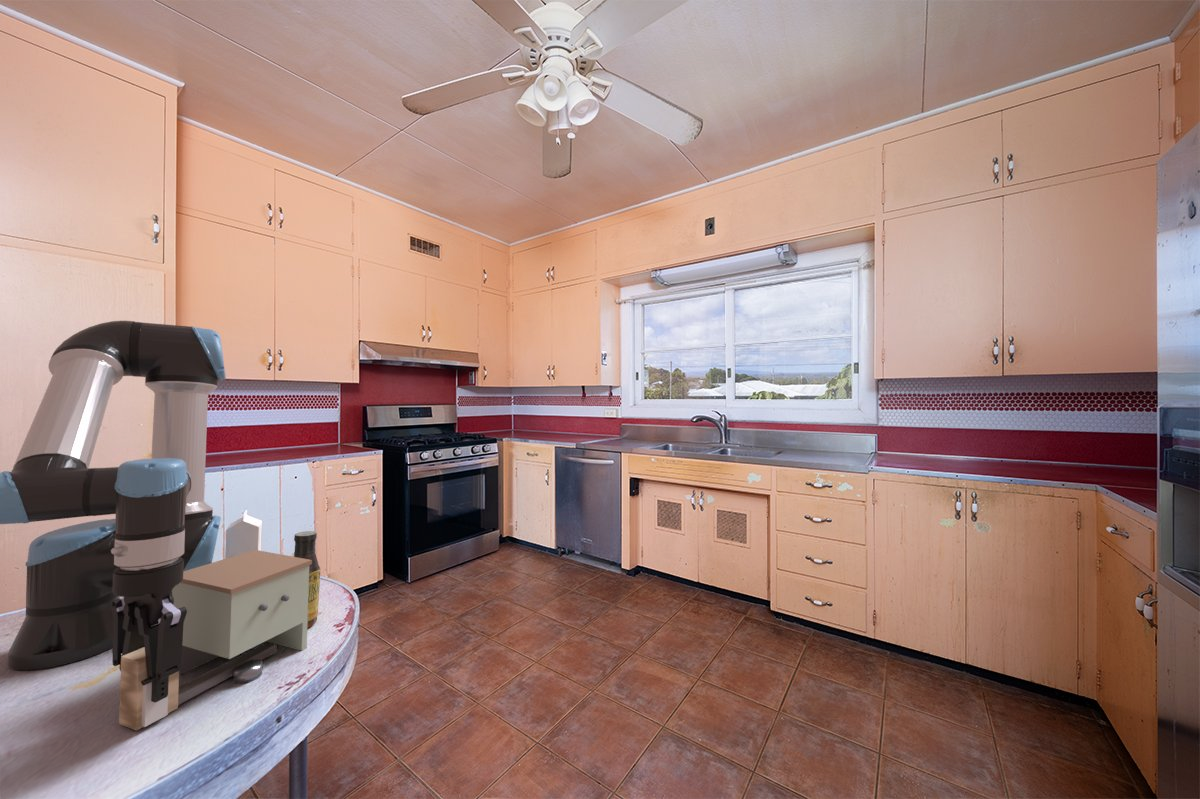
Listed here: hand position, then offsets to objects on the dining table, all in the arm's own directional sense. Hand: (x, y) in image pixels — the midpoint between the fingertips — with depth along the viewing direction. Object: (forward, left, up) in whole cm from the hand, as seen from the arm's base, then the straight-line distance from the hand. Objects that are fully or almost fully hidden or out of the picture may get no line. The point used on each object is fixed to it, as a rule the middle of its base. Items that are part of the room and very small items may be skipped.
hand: (144, 716), depth 67 cm
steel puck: (+3, +13, -1) cm, 13 cm away
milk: (-26, +31, -1) cm, 40 cm away
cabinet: (-3, +16, -1) cm, 16 cm away
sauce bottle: (-5, +29, -1) cm, 29 cm away
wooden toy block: (0, +9, 0) cm, 9 cm away
